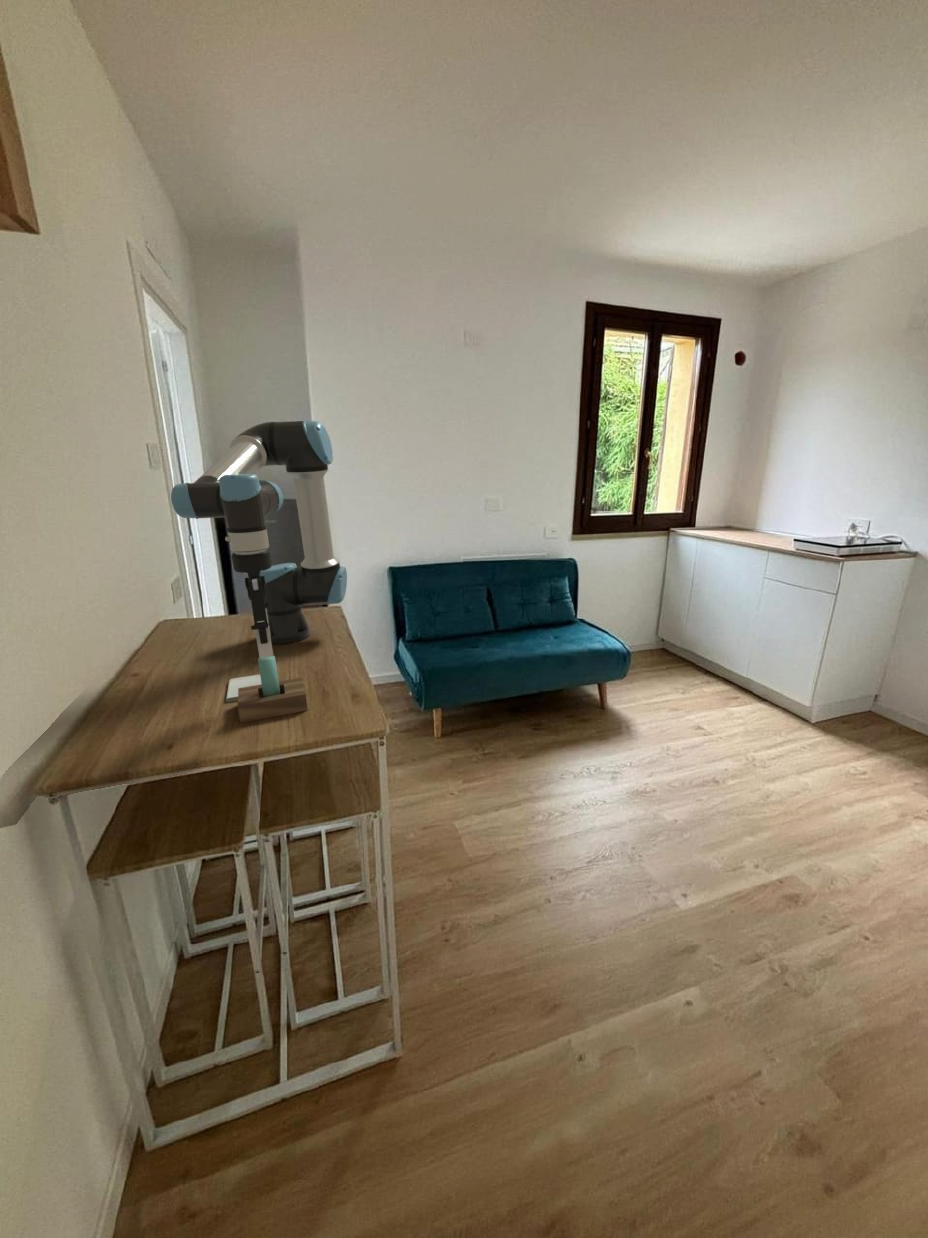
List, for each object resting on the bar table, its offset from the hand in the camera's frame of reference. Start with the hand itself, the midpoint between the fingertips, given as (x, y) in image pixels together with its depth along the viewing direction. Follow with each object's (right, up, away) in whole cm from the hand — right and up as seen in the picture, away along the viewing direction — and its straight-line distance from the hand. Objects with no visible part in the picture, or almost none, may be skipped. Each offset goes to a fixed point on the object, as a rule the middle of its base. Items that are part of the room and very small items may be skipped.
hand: (265, 646), depth 113 cm
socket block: (0, -14, +4) cm, 15 cm away
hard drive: (-10, -12, +14) cm, 21 cm away
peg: (0, -14, +4) cm, 15 cm away
